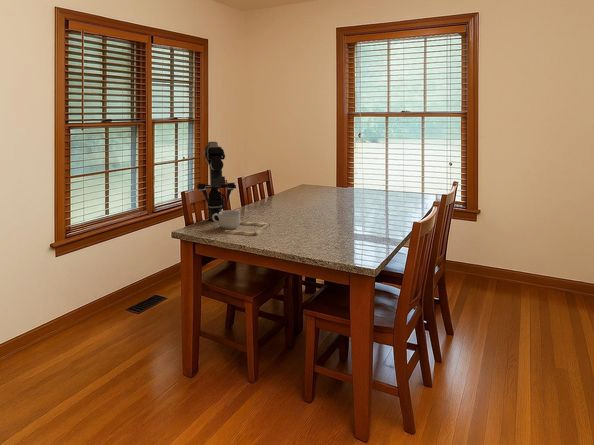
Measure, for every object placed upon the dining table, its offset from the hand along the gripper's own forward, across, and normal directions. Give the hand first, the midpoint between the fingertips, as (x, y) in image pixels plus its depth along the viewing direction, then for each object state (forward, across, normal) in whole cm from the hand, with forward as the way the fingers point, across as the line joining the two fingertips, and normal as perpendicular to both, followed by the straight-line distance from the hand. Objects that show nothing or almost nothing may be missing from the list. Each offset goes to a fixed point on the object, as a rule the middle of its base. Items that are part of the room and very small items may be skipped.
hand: (217, 203), depth 226 cm
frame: (+13, +14, 0) cm, 19 cm away
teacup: (+12, +4, +4) cm, 14 cm away
